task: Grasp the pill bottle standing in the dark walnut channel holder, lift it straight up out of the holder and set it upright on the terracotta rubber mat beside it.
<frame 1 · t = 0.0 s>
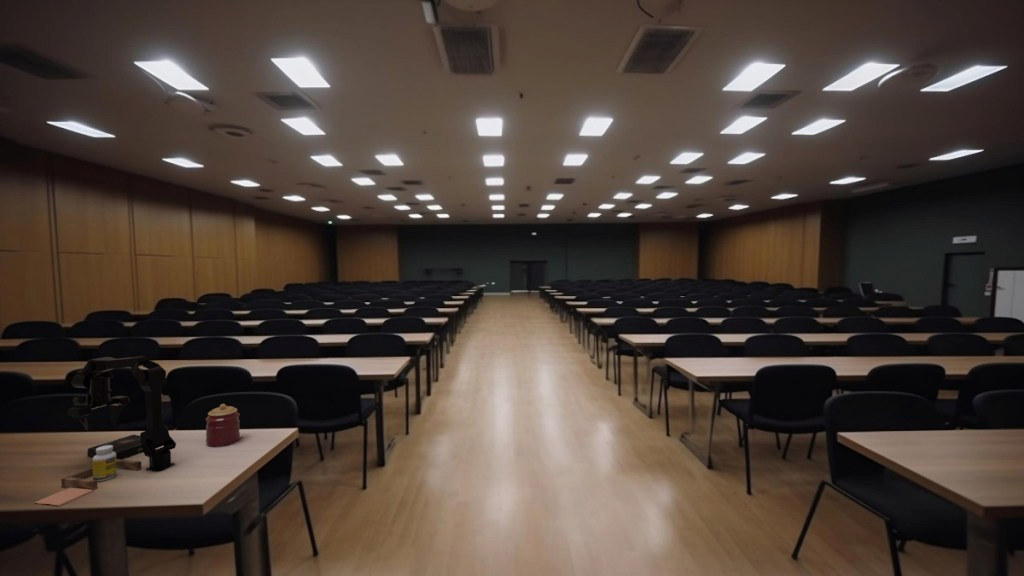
hand: (100, 426, 173), 15 cm above the table, tool pointing down, fingers open, 9 cm apart
canister: (223, 442, 195), on the table
portable cd player: (123, 453, 183), on the table
pill bottle: (104, 478, 160), on the table
terracotta mat: (64, 497, 145), on the table
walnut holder: (104, 477, 160), on the table
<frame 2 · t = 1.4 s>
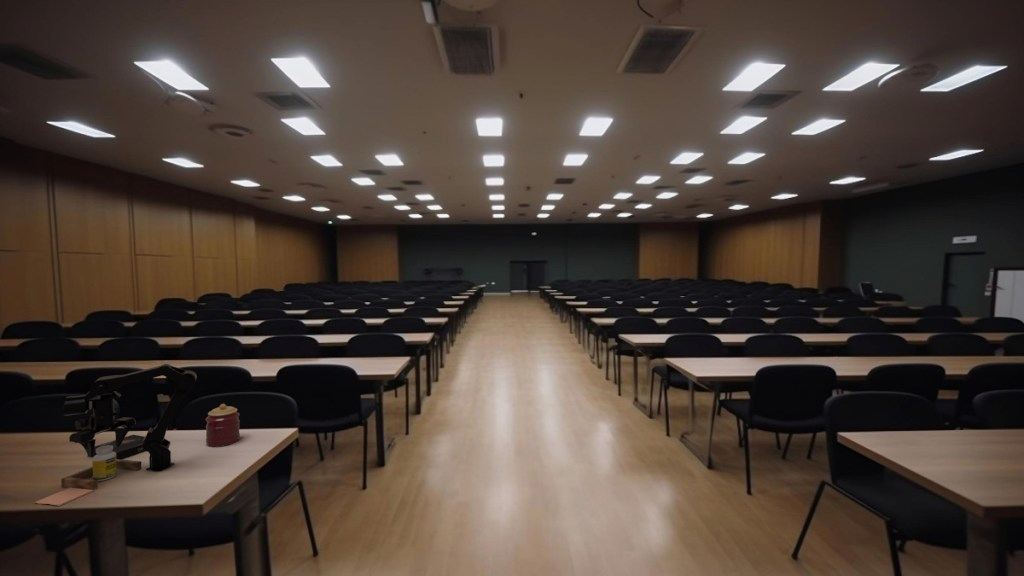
hand: (104, 451, 159), 10 cm above the table, tool pointing down, fingers open, 9 cm apart
nothing on the table moved.
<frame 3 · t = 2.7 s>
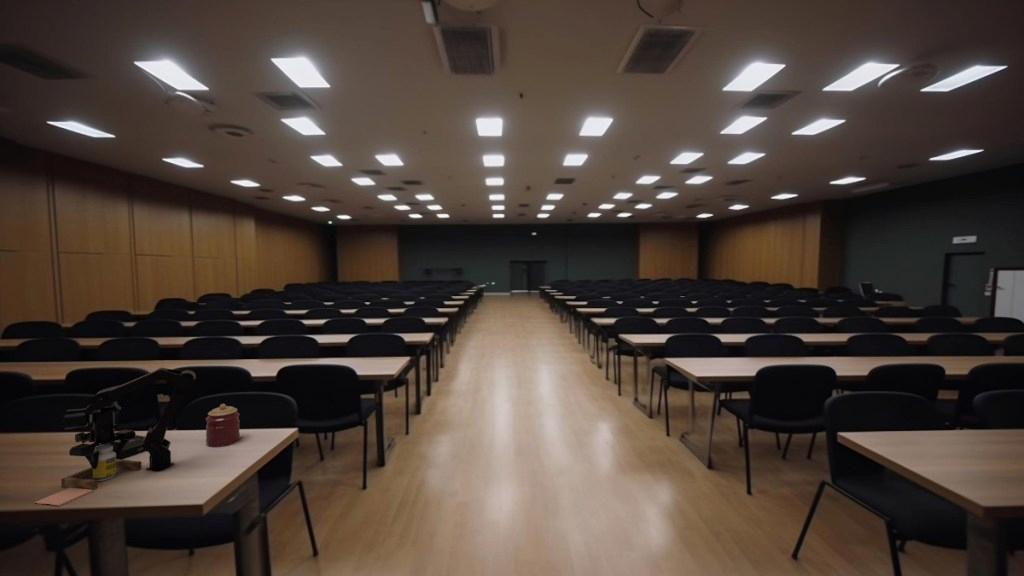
hand: (104, 464, 160), 5 cm above the table, tool pointing down, fingers closed on pill bottle, 6 cm apart
pill bottle: (104, 478, 160), on the table, touching gripper
everything else where it was.
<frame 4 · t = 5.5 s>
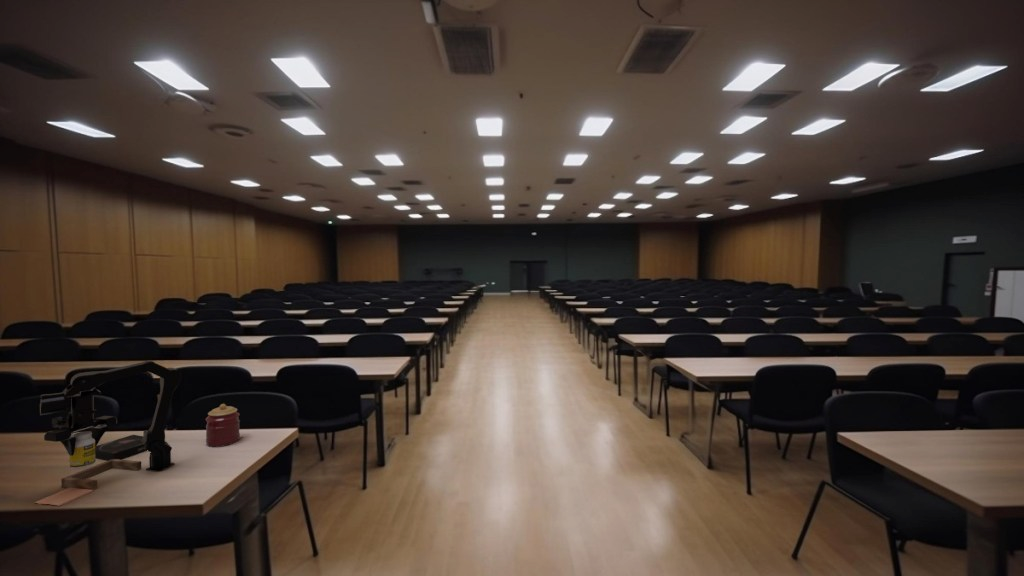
hand: (82, 451, 152), 13 cm above the table, tool pointing down, fingers closed on pill bottle, 6 cm apart
pill bottle: (82, 465, 152), point 8 cm above the table, touching gripper
everything else where it was.
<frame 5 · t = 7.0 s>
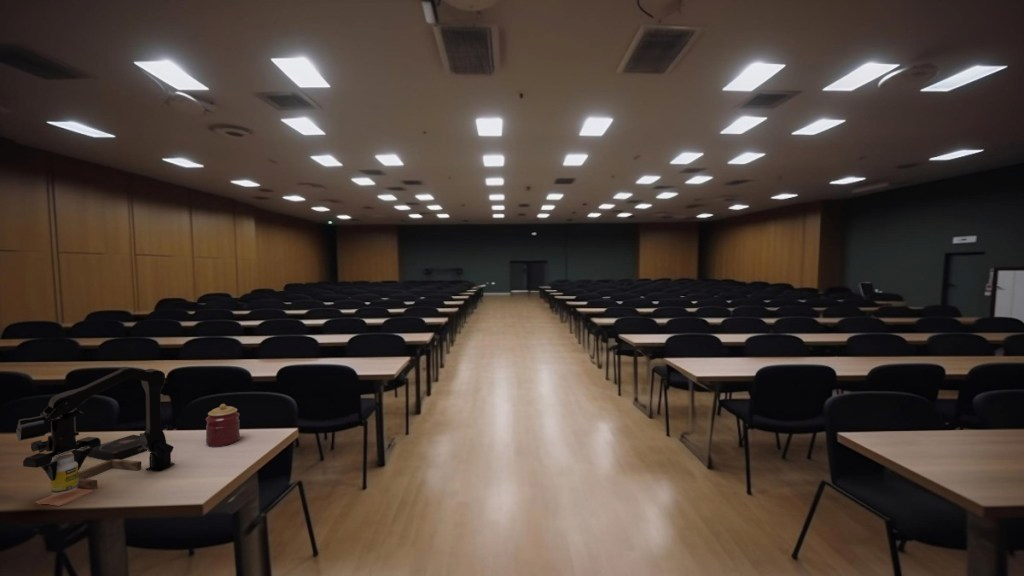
hand: (64, 475, 145), 8 cm above the table, tool pointing down, fingers closed on pill bottle, 6 cm apart
pill bottle: (65, 490, 146), point 2 cm above the table, touching gripper
everything else where it was.
when the fingers open (6 cm above the table, at t = 8.1 s): pill bottle stays where it is, resting on terracotta mat.
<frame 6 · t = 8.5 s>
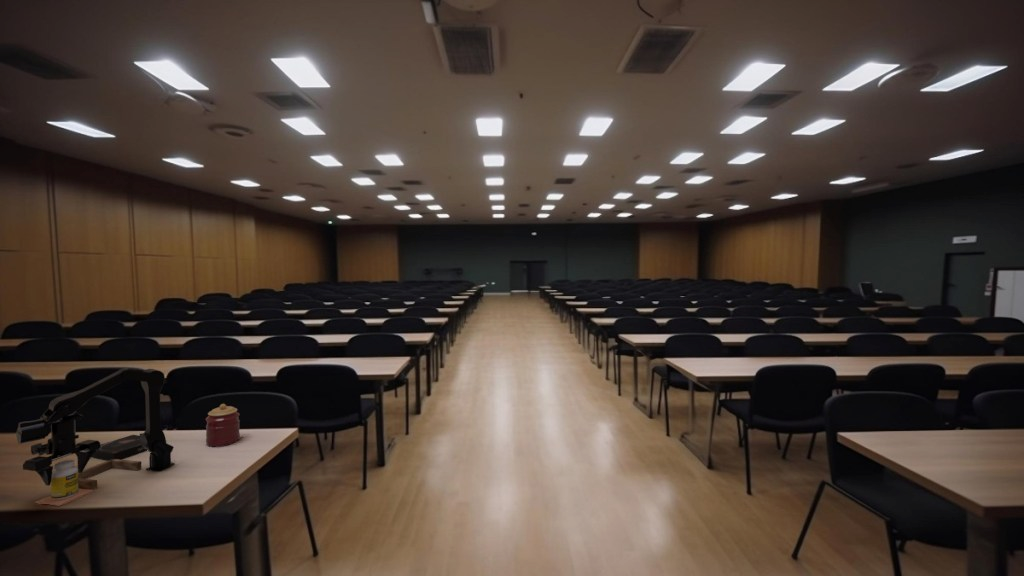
hand: (64, 478, 145), 6 cm above the table, tool pointing down, fingers open, 9 cm apart
pill bottle: (65, 496, 146), resting on terracotta mat
everything else where it was.
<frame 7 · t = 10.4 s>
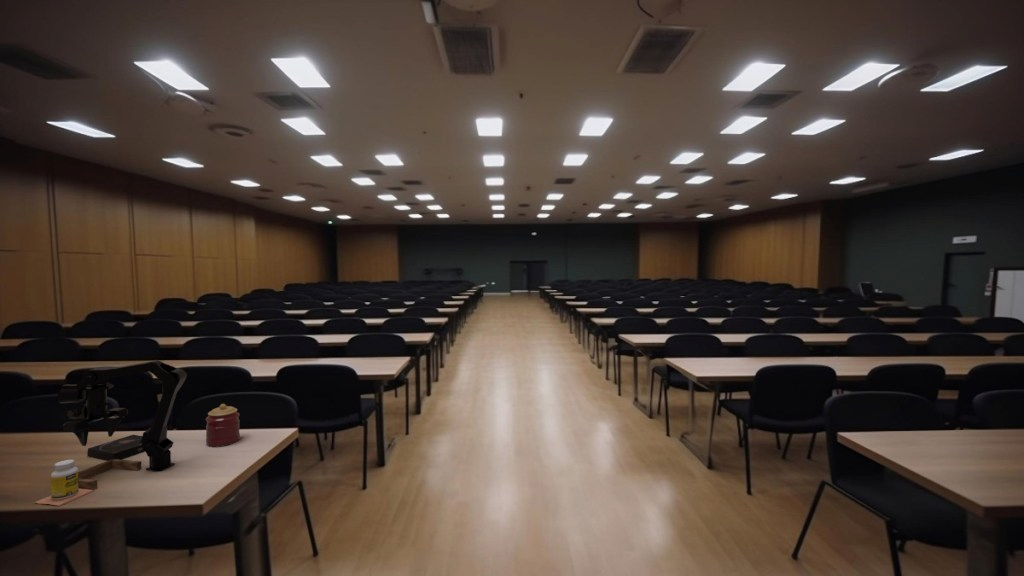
hand: (97, 441, 162), 13 cm above the table, tool pointing down, fingers open, 9 cm apart
nothing on the table moved.
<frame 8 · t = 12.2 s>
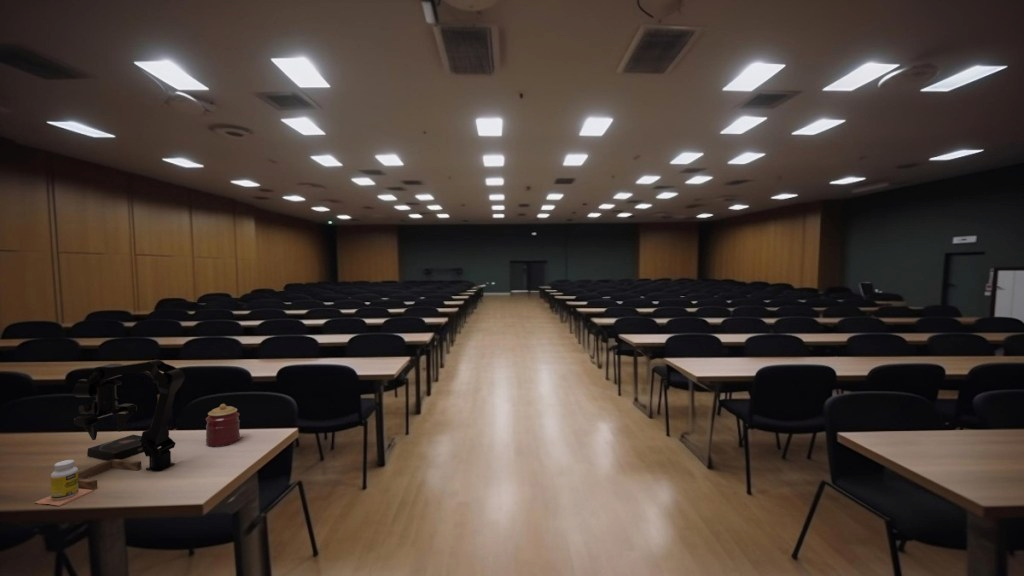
hand: (107, 435, 167), 13 cm above the table, tool pointing down, fingers open, 9 cm apart
nothing on the table moved.
at the end: pill bottle inside the target area on the terracotta mat (0.1 cm from its centre), point 0.3 cm above the terracotta mat's base; pill bottle tilted 0°; the gripper is holding nothing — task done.
